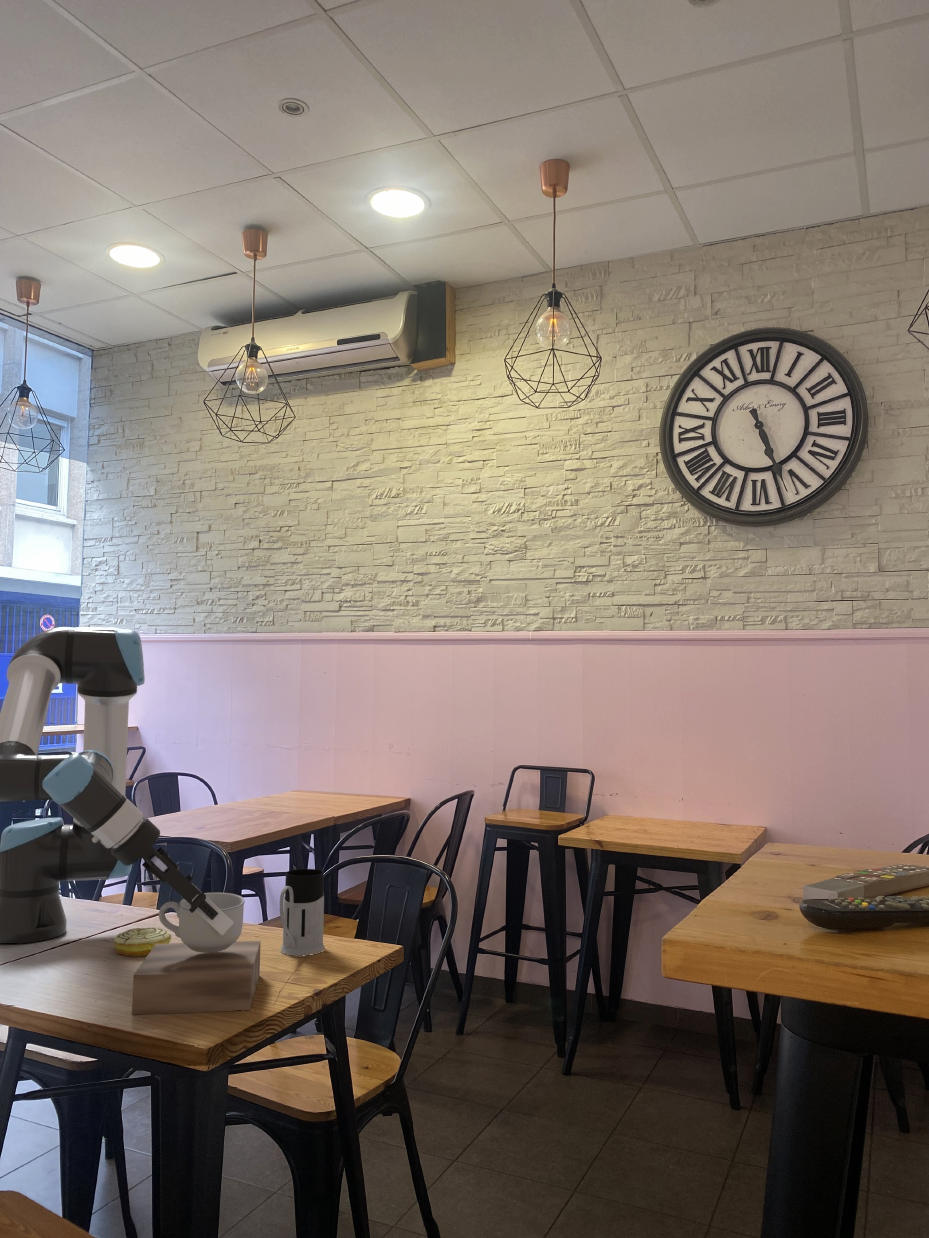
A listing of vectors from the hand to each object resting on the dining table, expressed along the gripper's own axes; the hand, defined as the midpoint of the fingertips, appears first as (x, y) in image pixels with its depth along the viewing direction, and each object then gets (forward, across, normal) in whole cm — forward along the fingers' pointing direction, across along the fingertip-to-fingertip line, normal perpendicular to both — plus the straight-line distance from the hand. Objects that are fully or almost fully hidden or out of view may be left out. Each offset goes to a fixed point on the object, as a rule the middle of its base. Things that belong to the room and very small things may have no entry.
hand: (219, 920), depth 149 cm
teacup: (+1, -1, -5) cm, 5 cm away
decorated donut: (+3, -31, -14) cm, 34 cm away
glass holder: (+22, -15, +5) cm, 27 cm away
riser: (+6, 0, -10) cm, 12 cm away
